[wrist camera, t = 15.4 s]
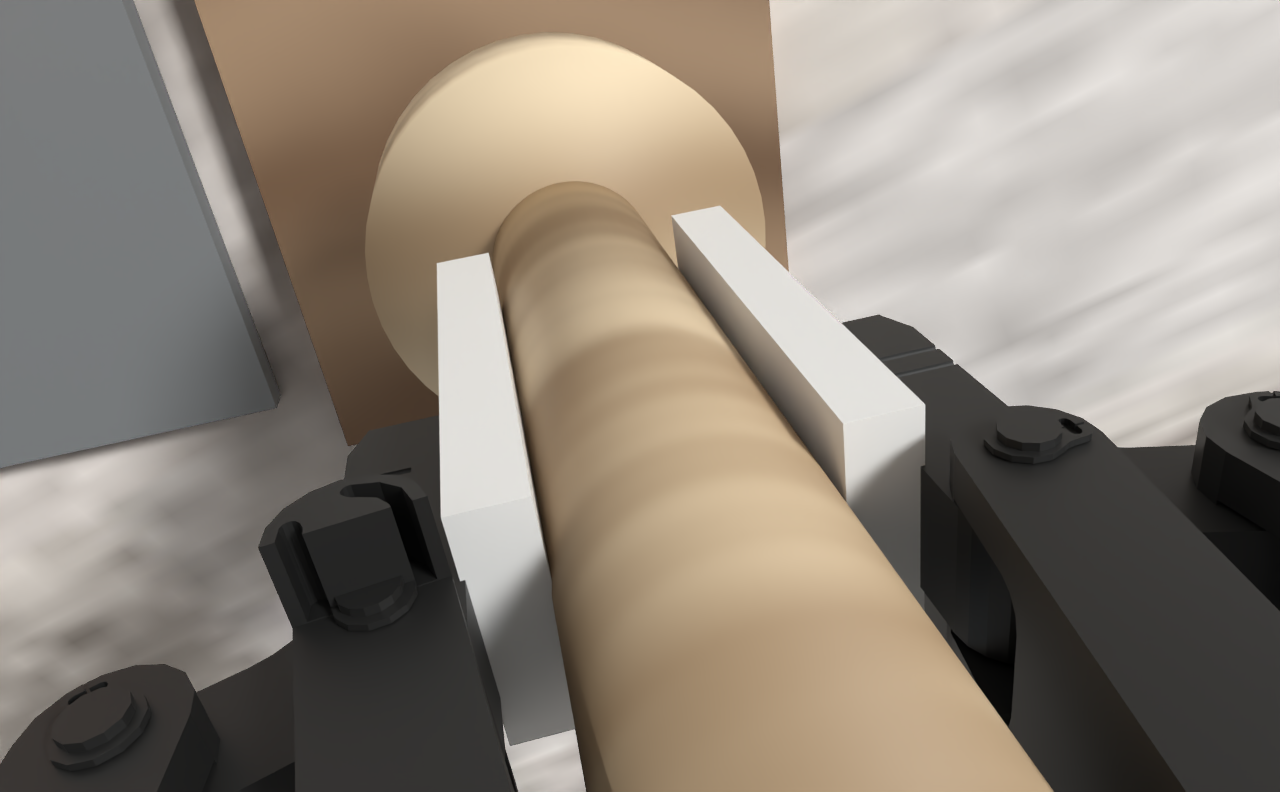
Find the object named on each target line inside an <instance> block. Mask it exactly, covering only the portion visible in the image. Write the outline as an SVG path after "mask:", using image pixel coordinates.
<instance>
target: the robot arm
mask: <svg viewBox="0 0 1280 792" xmlns="http://www.w3.org/2000/svg"><path fill="white" fill-rule="evenodd" d="M671 218H672V225H673V233H674V240H675V248H676V256H677V263H678V269H679V270H680V272H681V273H682V275H683V276H684V277H685V279H686V280H687V282H688V283H689V284H690V286H691V287H692V289H693V290H694V291H695V293H696V294H697V295H698V297H699V298H700V300H701V301H702V302H703V304H704V305H705V307H706V308H707V309H708V311H709V312H710V314H711V315H712V316H713V318H714V319H715V321H716V322H717V323H718V325H719V326H720V327H721V329H722V330H723V332H724V333H725V334H726V336H727V337H728V339H729V340H730V341H731V343H732V344H733V346H734V347H735V348H736V350H737V351H738V353H739V354H740V355H741V357H742V358H743V359H744V361H745V362H746V364H747V365H748V366H749V368H750V369H751V371H752V372H753V373H754V375H755V376H756V378H757V379H758V380H759V382H760V383H761V385H762V386H763V387H764V389H765V390H766V391H767V393H768V394H769V396H770V397H771V398H772V400H773V401H774V403H775V404H776V405H777V407H778V408H779V410H780V411H781V412H782V414H783V415H784V417H785V418H786V419H787V421H788V422H789V423H790V425H791V426H792V428H793V429H794V430H795V432H796V433H797V435H798V436H799V437H800V439H801V440H802V442H803V443H804V444H805V446H806V447H807V449H808V450H809V451H810V453H811V454H812V455H813V457H814V458H815V460H816V461H817V462H818V464H819V465H820V467H821V468H822V469H823V471H824V472H825V474H826V475H827V476H828V478H829V479H830V481H831V482H832V483H833V485H834V486H835V487H836V489H837V490H838V492H839V493H840V494H841V496H842V497H843V499H844V500H845V501H846V503H847V504H848V506H849V507H850V508H851V510H852V511H853V513H854V514H855V515H856V517H857V518H858V519H859V521H860V522H861V524H862V525H863V526H864V528H865V529H866V531H867V532H868V533H869V535H870V536H871V538H872V539H873V540H874V542H875V543H876V544H877V546H878V547H879V549H880V550H881V551H882V553H883V554H884V556H885V557H886V558H887V560H888V561H889V563H890V564H891V565H892V567H893V568H894V570H895V571H896V572H897V574H898V575H899V576H900V578H901V579H902V581H903V582H904V583H905V585H906V586H907V588H908V589H909V590H910V592H911V593H912V595H913V596H914V597H915V599H916V600H917V602H918V603H919V604H920V606H921V607H922V608H923V610H924V611H925V613H926V614H927V615H928V617H929V618H930V620H931V621H932V622H933V624H934V625H935V627H936V628H937V629H938V631H939V632H940V634H941V635H942V636H943V638H944V639H945V640H946V642H947V643H948V645H949V646H950V647H951V649H952V650H953V652H954V653H955V654H956V656H957V657H958V659H959V660H960V661H961V663H962V664H963V666H964V667H965V668H966V670H967V671H968V672H969V674H970V675H971V677H972V678H973V679H974V681H975V682H976V684H977V685H978V686H979V688H980V689H981V691H982V692H983V693H984V695H985V696H986V698H987V699H988V700H989V702H990V703H991V704H992V706H993V707H994V709H995V710H996V711H997V713H998V714H999V716H1000V717H1001V718H1002V720H1003V721H1004V723H1005V724H1006V725H1007V727H1008V728H1009V730H1010V731H1011V732H1012V734H1013V735H1014V736H1015V738H1016V739H1017V741H1018V742H1019V743H1020V745H1021V746H1022V748H1023V749H1024V750H1025V752H1026V753H1027V755H1028V756H1029V757H1030V759H1031V760H1032V762H1033V763H1034V764H1035V766H1036V767H1037V768H1038V770H1039V771H1040V773H1041V774H1042V775H1043V777H1044V778H1045V780H1046V781H1047V782H1048V784H1049V785H1050V787H1051V788H1052V789H1053V791H1054V792H1280V392H1278V391H1273V393H1270V392H1269V391H1266V392H1254V393H1247V394H1242V395H1236V396H1231V397H1225V398H1223V399H1221V400H1219V401H1217V402H1215V403H1214V404H1212V405H1210V406H1208V407H1206V409H1205V411H1204V413H1203V415H1202V417H1201V419H1200V422H1199V428H1198V434H1197V440H1196V445H1189V446H1163V447H1137V448H1118V447H1117V446H1116V445H1115V444H1114V443H1113V442H1112V441H1111V440H1110V439H1109V438H1108V437H1107V436H1106V435H1105V434H1104V433H1103V432H1102V431H1100V430H1099V429H1097V428H1096V427H1095V426H1093V425H1092V424H1090V423H1089V422H1087V421H1086V420H1084V419H1083V418H1080V417H1077V416H1074V415H1072V414H1069V413H1066V412H1063V411H1060V410H1057V409H1050V408H1043V407H1035V406H1027V405H1026V406H1007V405H1006V404H1005V403H1003V402H1002V401H1001V400H1000V399H999V398H997V397H996V396H995V395H994V394H993V393H991V392H990V391H989V390H988V389H987V388H985V387H984V386H983V385H982V384H981V383H979V382H978V381H977V380H976V379H975V378H973V377H972V376H971V375H970V374H969V373H967V372H966V371H965V370H964V369H963V368H961V367H960V366H959V365H958V364H956V365H954V364H953V360H952V359H951V358H949V357H948V356H947V355H946V354H945V353H943V352H942V351H941V350H940V349H935V345H934V344H933V343H931V342H930V341H929V340H928V339H927V338H925V337H924V336H923V335H922V334H921V333H919V332H918V331H917V330H916V329H915V328H913V327H911V326H909V325H906V324H903V323H900V322H897V321H895V320H892V319H889V318H886V317H883V316H880V315H875V316H871V317H866V318H862V319H857V320H853V321H848V322H843V323H841V322H840V321H839V320H838V319H837V318H836V317H835V316H834V315H833V314H832V313H831V312H829V311H828V310H827V309H826V308H825V307H824V306H823V305H822V304H821V303H820V302H819V301H818V300H817V299H816V298H815V297H814V296H813V295H812V294H811V293H810V292H809V291H808V290H807V289H806V288H805V287H804V286H803V285H802V284H801V283H800V282H799V281H798V280H796V279H795V278H794V277H793V276H792V275H791V274H790V273H789V272H788V271H787V270H786V269H785V268H784V267H783V266H782V265H781V264H780V263H779V262H778V261H777V260H776V259H775V258H774V257H773V256H772V255H771V254H770V253H769V252H768V251H767V250H766V249H765V248H764V247H762V246H761V245H760V244H759V243H758V242H757V241H756V240H755V239H754V238H753V237H752V236H751V235H750V234H749V233H748V232H747V231H746V230H745V229H744V228H743V227H742V226H741V225H740V224H739V223H738V222H737V221H736V220H735V219H734V218H733V217H732V216H731V215H729V214H728V213H727V212H726V211H725V210H724V209H723V208H722V207H721V206H716V207H711V208H706V209H701V210H696V211H691V212H686V213H681V214H676V215H671ZM437 309H438V372H439V415H437V416H433V417H428V418H424V419H419V420H415V421H410V422H406V423H401V424H397V425H392V426H388V427H383V428H379V429H374V430H369V431H368V432H367V434H366V435H365V436H364V437H363V439H362V440H361V441H360V442H359V444H358V445H357V446H356V447H355V448H354V450H353V451H352V452H351V453H350V455H349V456H348V459H347V465H346V471H345V478H344V480H339V481H337V482H334V483H332V484H329V485H327V486H324V487H322V488H319V489H317V490H314V491H312V492H309V493H308V494H306V495H305V496H303V497H302V498H300V499H298V500H297V501H295V502H294V503H292V504H291V505H289V506H287V507H286V508H284V509H283V510H282V511H281V512H280V513H279V514H278V515H277V516H276V517H275V519H274V520H273V521H272V522H271V523H270V524H269V525H268V526H267V527H266V528H265V531H264V533H263V536H262V539H261V541H260V544H259V547H258V548H259V551H260V553H261V555H262V558H263V560H264V562H265V565H266V567H267V569H268V572H269V574H270V576H271V579H272V581H273V583H274V586H275V588H276V590H277V593H278V595H279V597H280V600H281V602H282V605H283V607H284V609H285V612H286V614H287V616H288V619H289V621H290V623H291V626H292V628H293V640H292V641H291V642H290V643H288V644H287V645H286V646H284V647H283V648H282V649H280V650H279V651H278V652H276V653H275V654H273V655H272V656H270V657H268V658H266V659H264V660H263V661H261V662H259V663H257V664H255V665H253V666H252V667H250V668H248V669H246V670H243V671H241V672H239V673H237V674H235V675H233V676H231V677H229V678H226V679H224V680H222V681H220V682H218V683H216V684H214V685H211V686H209V687H207V688H205V689H203V690H201V691H199V692H196V691H195V689H194V688H193V686H192V684H191V682H190V680H189V678H188V677H187V675H186V673H185V672H183V671H180V670H178V669H175V668H173V667H170V666H168V665H165V664H159V665H135V666H132V667H128V668H125V669H122V670H118V671H115V672H112V673H108V674H105V675H102V676H100V677H98V678H96V679H94V680H92V681H89V682H87V683H86V684H84V685H81V686H80V687H78V688H76V689H74V690H73V691H71V692H69V693H67V694H66V695H64V696H63V697H62V698H61V699H59V700H58V701H57V702H55V703H54V704H53V705H52V706H50V707H49V708H48V709H46V710H45V711H44V712H43V713H41V714H40V715H39V716H37V717H36V718H35V719H34V720H33V721H32V723H31V724H30V725H29V726H28V727H27V729H26V730H25V731H24V732H23V733H22V735H21V736H20V737H19V738H18V739H17V741H16V742H15V743H14V744H13V745H12V747H11V748H10V750H9V752H8V753H7V755H6V756H5V758H4V759H3V761H2V763H1V764H0V792H518V789H517V786H516V782H515V779H514V776H513V773H512V769H511V766H510V763H509V760H508V756H507V753H506V750H505V743H504V732H503V724H504V728H505V731H506V734H507V737H508V741H509V744H510V746H512V745H516V744H520V743H523V742H527V741H531V740H535V739H539V738H542V737H546V736H550V735H554V734H558V733H561V732H565V731H569V730H573V729H575V725H574V719H573V714H572V708H571V703H570V697H569V691H568V686H567V680H566V675H565V669H564V663H563V658H562V652H561V647H560V641H559V636H558V630H557V624H556V619H555V613H554V607H553V601H552V579H551V574H550V568H549V563H548V558H547V552H546V547H545V541H544V536H543V530H542V525H541V520H540V514H539V509H538V503H537V498H536V492H535V487H534V481H533V476H532V471H531V465H530V460H529V454H528V449H527V443H526V438H525V432H524V427H523V422H522V416H521V411H520V405H519V400H518V394H517V389H516V383H515V378H514V373H513V367H512V362H511V356H510V351H509V345H508V340H507V335H506V329H505V324H504V318H503V313H502V308H501V304H500V299H499V295H498V291H497V287H496V282H495V278H494V274H493V269H492V265H491V261H490V257H489V253H485V254H480V255H475V256H470V257H465V258H460V259H455V260H450V261H445V262H440V263H437Z"/></svg>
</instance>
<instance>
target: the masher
mask: <svg viewBox="0 0 1280 792" xmlns="http://www.w3.org/2000/svg"><path fill="white" fill-rule="evenodd" d="M716 206H721V207H722V208H723V209H724V210H725V211H726V212H727V213H728V214H729V215H731V216H732V217H733V218H734V219H735V220H736V221H737V222H738V223H739V224H740V225H741V226H742V227H743V228H744V229H745V230H746V231H747V232H748V233H749V234H750V235H751V236H752V237H753V238H754V239H755V240H756V241H757V242H758V243H759V244H760V245H761V246H762V247H764V248H765V246H766V242H765V217H764V210H763V204H762V197H761V194H760V190H759V187H758V183H757V180H756V176H755V173H754V171H753V168H752V166H751V164H750V162H749V159H748V157H747V155H746V153H745V150H744V149H743V147H742V145H741V144H740V142H739V141H738V139H737V137H736V136H735V134H734V133H733V131H732V129H731V128H730V127H729V125H728V124H727V123H726V122H725V121H724V119H723V118H722V117H721V116H720V115H719V113H718V112H717V111H716V110H715V109H714V107H712V106H711V105H710V104H709V103H708V102H707V101H706V100H705V99H704V98H702V97H701V96H700V95H699V94H698V93H697V92H696V91H695V90H693V89H692V88H690V87H689V86H687V85H686V84H684V83H683V82H682V81H680V80H679V79H677V78H676V77H674V76H673V75H671V74H669V73H668V72H666V71H665V70H663V69H661V68H660V67H658V66H657V65H655V64H653V63H652V62H650V61H649V60H647V59H645V58H644V57H642V56H640V55H638V54H636V53H634V52H632V51H630V50H628V49H626V48H624V47H622V46H620V45H617V44H614V43H611V42H608V41H605V40H602V39H599V38H596V37H590V36H584V35H579V34H573V33H550V32H544V33H535V34H526V35H519V36H515V37H511V38H507V39H503V40H499V41H495V42H493V43H491V44H488V45H486V46H483V47H481V48H478V49H476V50H473V51H471V52H470V53H468V54H466V55H465V56H463V57H461V58H459V59H458V60H456V61H454V62H453V63H451V64H450V65H448V66H447V67H446V68H444V69H443V70H442V71H441V72H439V73H438V74H437V75H436V76H434V77H433V78H432V79H431V80H430V81H429V82H428V83H427V84H426V85H425V86H424V87H423V88H422V89H421V90H420V91H419V92H418V93H417V94H416V95H415V96H414V98H413V99H412V100H411V102H410V103H409V104H408V106H407V107H406V109H405V110H404V111H403V113H402V114H401V116H400V117H399V119H398V121H397V123H396V124H395V126H394V128H393V130H392V132H391V134H390V136H389V138H388V140H387V143H386V145H385V148H384V151H383V154H382V157H381V160H380V163H379V167H378V171H377V176H376V180H375V185H374V190H373V194H372V199H371V204H370V209H369V214H368V219H367V224H366V240H365V259H366V270H367V279H368V283H369V288H370V292H371V296H372V301H373V304H374V307H375V309H376V312H377V315H378V317H379V320H380V322H381V325H382V327H383V329H384V331H385V333H386V335H387V336H388V338H389V340H390V342H391V344H392V346H393V347H394V349H395V350H396V352H397V353H398V354H399V356H400V357H401V358H402V360H403V361H404V363H405V364H406V365H407V367H408V368H409V369H410V370H411V371H412V372H413V373H414V374H415V375H416V376H417V377H418V378H419V379H420V380H421V382H422V383H423V384H424V385H425V386H426V387H428V388H429V389H430V390H431V391H433V392H434V393H435V394H436V395H438V396H439V372H438V309H437V263H440V262H445V261H450V260H455V259H460V258H465V257H470V256H475V255H480V254H485V253H489V257H490V261H491V265H492V269H493V274H494V278H495V282H496V287H497V291H498V295H499V299H500V304H501V308H502V313H503V318H504V324H505V329H506V335H507V340H508V345H509V351H510V356H511V362H512V367H513V373H514V378H515V383H516V389H517V394H518V400H519V405H520V411H521V416H522V422H523V427H524V432H525V438H526V443H527V449H528V454H529V460H530V465H531V471H532V476H533V481H534V487H535V492H536V498H537V503H538V509H539V514H540V520H541V525H542V530H543V536H544V541H545V547H546V552H547V558H548V563H549V568H550V574H551V579H552V601H553V607H554V613H555V619H556V624H557V630H558V636H559V641H560V647H561V652H562V658H563V663H564V669H565V675H566V680H567V686H568V691H569V697H570V703H571V708H572V714H573V719H574V725H575V731H576V736H577V742H578V747H579V753H580V759H581V764H582V770H583V775H584V781H585V787H586V792H1054V791H1053V789H1052V788H1051V787H1050V785H1049V784H1048V782H1047V781H1046V780H1045V778H1044V777H1043V775H1042V774H1041V773H1040V771H1039V770H1038V768H1037V767H1036V766H1035V764H1034V763H1033V762H1032V760H1031V759H1030V757H1029V756H1028V755H1027V753H1026V752H1025V750H1024V749H1023V748H1022V746H1021V745H1020V743H1019V742H1018V741H1017V739H1016V738H1015V736H1014V735H1013V734H1012V732H1011V731H1010V730H1009V728H1008V727H1007V725H1006V724H1005V723H1004V721H1003V720H1002V718H1001V717H1000V716H999V714H998V713H997V711H996V710H995V709H994V707H993V706H992V704H991V703H990V702H989V700H988V699H987V698H986V696H985V695H984V693H983V692H982V691H981V689H980V688H979V686H978V685H977V684H976V682H975V681H974V679H973V678H972V677H971V675H970V674H969V672H968V671H967V670H966V668H965V667H964V666H963V664H962V663H961V661H960V660H959V659H958V657H957V656H956V654H955V653H954V652H953V650H952V649H951V647H950V646H949V645H948V643H947V642H946V640H945V639H944V638H943V636H942V635H941V634H940V632H939V631H938V629H937V628H936V627H935V625H934V624H933V622H932V621H931V620H930V618H929V617H928V615H927V614H926V613H925V611H924V610H923V608H922V607H921V606H920V604H919V603H918V602H917V600H916V599H915V597H914V596H913V595H912V593H911V592H910V590H909V589H908V588H907V586H906V585H905V583H904V582H903V581H902V579H901V578H900V576H899V575H898V574H897V572H896V571H895V570H894V568H893V567H892V565H891V564H890V563H889V561H888V560H887V558H886V557H885V556H884V554H883V553H882V551H881V550H880V549H879V547H878V546H877V544H876V543H875V542H874V540H873V539H872V538H871V536H870V535H869V533H868V532H867V531H866V529H865V528H864V526H863V525H862V524H861V522H860V521H859V519H858V518H857V517H856V515H855V514H854V513H853V511H852V510H851V508H850V507H849V506H848V504H847V503H846V501H845V500H844V499H843V497H842V496H841V494H840V493H839V492H838V490H837V489H836V487H835V486H834V485H833V483H832V482H831V481H830V479H829V478H828V476H827V475H826V474H825V472H824V471H823V469H822V468H821V467H820V465H819V464H818V462H817V461H816V460H815V458H814V457H813V455H812V454H811V453H810V451H809V450H808V449H807V447H806V446H805V444H804V443H803V442H802V440H801V439H800V437H799V436H798V435H797V433H796V432H795V430H794V429H793V428H792V426H791V425H790V423H789V422H788V421H787V419H786V418H785V417H784V415H783V414H782V412H781V411H780V410H779V408H778V407H777V405H776V404H775V403H774V401H773V400H772V398H771V397H770V396H769V394H768V393H767V391H766V390H765V389H764V387H763V386H762V385H761V383H760V382H759V380H758V379H757V378H756V376H755V375H754V373H753V372H752V371H751V369H750V368H749V366H748V365H747V364H746V362H745V361H744V359H743V358H742V357H741V355H740V354H739V353H738V351H737V350H736V348H735V347H734V346H733V344H732V343H731V341H730V340H729V339H728V337H727V336H726V334H725V333H724V332H723V330H722V329H721V327H720V326H719V325H718V323H717V322H716V321H715V319H714V318H713V316H712V315H711V314H710V312H709V311H708V309H707V308H706V307H705V305H704V304H703V302H702V301H701V300H700V298H699V297H698V295H697V294H696V293H695V291H694V290H693V289H692V287H691V286H690V284H689V283H688V282H687V280H686V279H685V277H684V276H683V275H682V273H681V272H680V270H679V269H678V263H677V256H676V248H675V240H674V233H673V225H672V218H671V215H676V214H681V213H686V212H691V211H696V210H701V209H706V208H711V207H716Z"/></svg>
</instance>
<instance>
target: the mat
mask: <svg viewBox="0 0 1280 792" xmlns="http://www.w3.org/2000/svg"><path fill="white" fill-rule="evenodd" d="M280 396H281V394H280V391H279V388H278V386H277V383H276V380H275V378H274V375H273V372H272V370H271V367H270V364H269V362H268V359H267V356H266V354H265V351H264V348H263V346H262V343H261V340H260V338H259V335H258V332H257V330H256V327H255V324H254V322H253V319H252V316H251V314H250V311H249V308H248V306H247V303H246V300H245V298H244V295H243V292H242V290H241V287H240V284H239V282H238V279H237V276H236V274H235V271H234V268H233V266H232V263H231V260H230V258H229V255H228V252H227V250H226V247H225V244H224V242H223V239H222V236H221V234H220V231H219V228H218V226H217V223H216V220H215V218H214V215H213V212H212V210H211V207H210V204H209V202H208V199H207V196H206V193H205V191H204V188H203V185H202V183H201V180H200V177H199V175H198V172H197V169H196V167H195V164H194V161H193V159H192V156H191V153H190V151H189V148H188V145H187V143H186V140H185V137H184V135H183V132H182V129H181V127H180V124H179V121H178V119H177V116H176V113H175V111H174V108H173V105H172V103H171V100H170V97H169V95H168V92H167V89H166V87H165V84H164V81H163V79H162V76H161V73H160V71H159V68H158V65H157V63H156V60H155V57H154V55H153V52H152V49H151V47H150V44H149V41H148V39H147V36H146V33H145V31H144V28H143V25H142V23H141V20H140V17H139V15H138V12H137V9H136V7H135V4H134V1H133V0H0V468H2V467H7V466H12V465H16V464H21V463H26V462H30V461H35V460H39V459H44V458H49V457H53V456H58V455H62V454H67V453H72V452H76V451H81V450H86V449H90V448H95V447H99V446H104V445H109V444H113V443H118V442H122V441H127V440H132V439H136V438H141V437H145V436H150V435H155V434H159V433H164V432H169V431H173V430H178V429H182V428H187V427H192V426H196V425H201V424H205V423H210V422H215V421H219V420H224V419H229V418H233V417H238V416H242V415H247V414H252V413H256V412H261V411H265V410H270V409H275V408H277V406H278V403H279V400H280Z"/></svg>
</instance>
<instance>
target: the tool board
mask: <svg viewBox="0 0 1280 792" xmlns="http://www.w3.org/2000/svg"><path fill="white" fill-rule="evenodd" d="M194 2H195V4H196V7H197V10H198V13H199V16H200V19H201V22H202V25H203V28H204V31H205V33H206V36H207V39H208V42H209V45H210V48H211V51H212V54H213V57H214V59H215V62H216V65H217V68H218V71H219V74H220V77H221V80H222V83H223V85H224V88H225V91H226V94H227V97H228V100H229V103H230V106H231V109H232V112H233V114H234V117H235V120H236V123H237V126H238V129H239V132H240V135H241V138H242V140H243V143H244V146H245V149H246V152H247V155H248V158H249V161H250V164H251V167H252V169H253V172H254V175H255V178H256V181H257V184H258V187H259V190H260V193H261V195H262V198H263V201H264V204H265V207H266V210H267V213H268V216H269V219H270V222H271V224H272V227H273V230H274V233H275V236H276V239H277V242H278V245H279V248H280V250H281V253H282V256H283V259H284V262H285V265H286V268H287V271H288V274H289V277H290V279H291V282H292V285H293V288H294V291H295V294H296V297H297V300H298V303H299V305H300V308H301V311H302V314H303V317H304V320H305V323H306V326H307V329H308V331H309V334H310V337H311V340H312V343H313V346H314V349H315V352H316V355H317V358H318V360H319V363H320V366H321V369H322V372H323V375H324V378H325V381H326V384H327V386H328V389H329V392H330V395H331V398H332V401H333V404H334V407H335V410H336V413H337V415H338V418H339V421H340V424H341V427H342V430H343V433H344V436H345V439H346V441H347V444H348V446H351V445H356V444H359V442H360V441H361V440H362V439H363V437H364V436H365V435H366V434H367V432H368V431H369V430H374V429H379V428H383V427H388V426H392V425H397V424H401V423H406V422H410V421H415V420H419V419H424V418H428V417H433V416H437V415H439V396H438V395H436V394H435V393H434V392H433V391H431V390H430V389H429V388H428V387H426V386H425V385H424V384H423V383H422V382H421V380H420V379H419V378H418V377H417V376H416V375H415V374H414V373H413V372H412V371H411V370H410V369H409V368H408V367H407V365H406V364H405V363H404V361H403V360H402V358H401V357H400V356H399V354H398V353H397V352H396V350H395V349H394V347H393V346H392V344H391V342H390V340H389V338H388V336H387V335H386V333H385V331H384V329H383V327H382V325H381V322H380V320H379V317H378V315H377V312H376V309H375V307H374V304H373V301H372V296H371V292H370V288H369V283H368V279H367V270H366V259H365V240H366V224H367V219H368V214H369V209H370V204H371V199H372V194H373V190H374V185H375V180H376V176H377V171H378V167H379V163H380V160H381V157H382V154H383V151H384V148H385V145H386V143H387V140H388V138H389V136H390V134H391V132H392V130H393V128H394V126H395V124H396V123H397V121H398V119H399V117H400V116H401V114H402V113H403V111H404V110H405V109H406V107H407V106H408V104H409V103H410V102H411V100H412V99H413V98H414V96H415V95H416V94H417V93H418V92H419V91H420V90H421V89H422V88H423V87H424V86H425V85H426V84H427V83H428V82H429V81H430V80H431V79H432V78H433V77H434V76H436V75H437V74H438V73H439V72H441V71H442V70H443V69H444V68H446V67H447V66H448V65H450V64H451V63H453V62H454V61H456V60H458V59H459V58H461V57H463V56H465V55H466V54H468V53H470V52H471V51H473V50H476V49H478V48H481V47H483V46H486V45H488V44H491V43H493V42H495V41H499V40H503V39H507V38H511V37H515V36H519V35H526V34H535V33H544V32H550V33H573V34H579V35H584V36H590V37H596V38H599V39H602V40H605V41H608V42H611V43H614V44H617V45H620V46H622V47H624V48H626V49H628V50H630V51H632V52H634V53H636V54H638V55H640V56H642V57H644V58H645V59H647V60H649V61H650V62H652V63H653V64H655V65H657V66H658V67H660V68H661V69H663V70H665V71H666V72H668V73H669V74H671V75H673V76H674V77H676V78H677V79H679V80H680V81H682V82H683V83H684V84H686V85H687V86H689V87H690V88H692V89H693V90H695V91H696V92H697V93H698V94H699V95H700V96H701V97H702V98H704V99H705V100H706V101H707V102H708V103H709V104H710V105H711V106H712V107H714V109H715V110H716V111H717V112H718V113H719V115H720V116H721V117H722V118H723V119H724V121H725V122H726V123H727V124H728V125H729V127H730V128H731V129H732V131H733V133H734V134H735V136H736V137H737V139H738V141H739V142H740V144H741V145H742V147H743V149H744V150H745V153H746V155H747V157H748V159H749V162H750V164H751V166H752V168H753V171H754V173H755V176H756V180H757V183H758V187H759V190H760V194H761V197H762V204H763V210H764V217H765V242H766V246H765V249H766V250H767V251H768V252H769V253H770V254H771V255H772V256H773V257H774V258H775V259H776V260H777V261H778V262H779V263H780V264H781V265H782V266H783V267H784V268H785V269H786V270H787V271H788V272H789V270H788V256H787V242H786V229H785V215H784V201H783V187H782V173H781V159H780V145H779V132H778V118H777V104H776V90H775V76H774V62H773V48H772V35H771V21H770V7H769V0H194Z"/></svg>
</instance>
